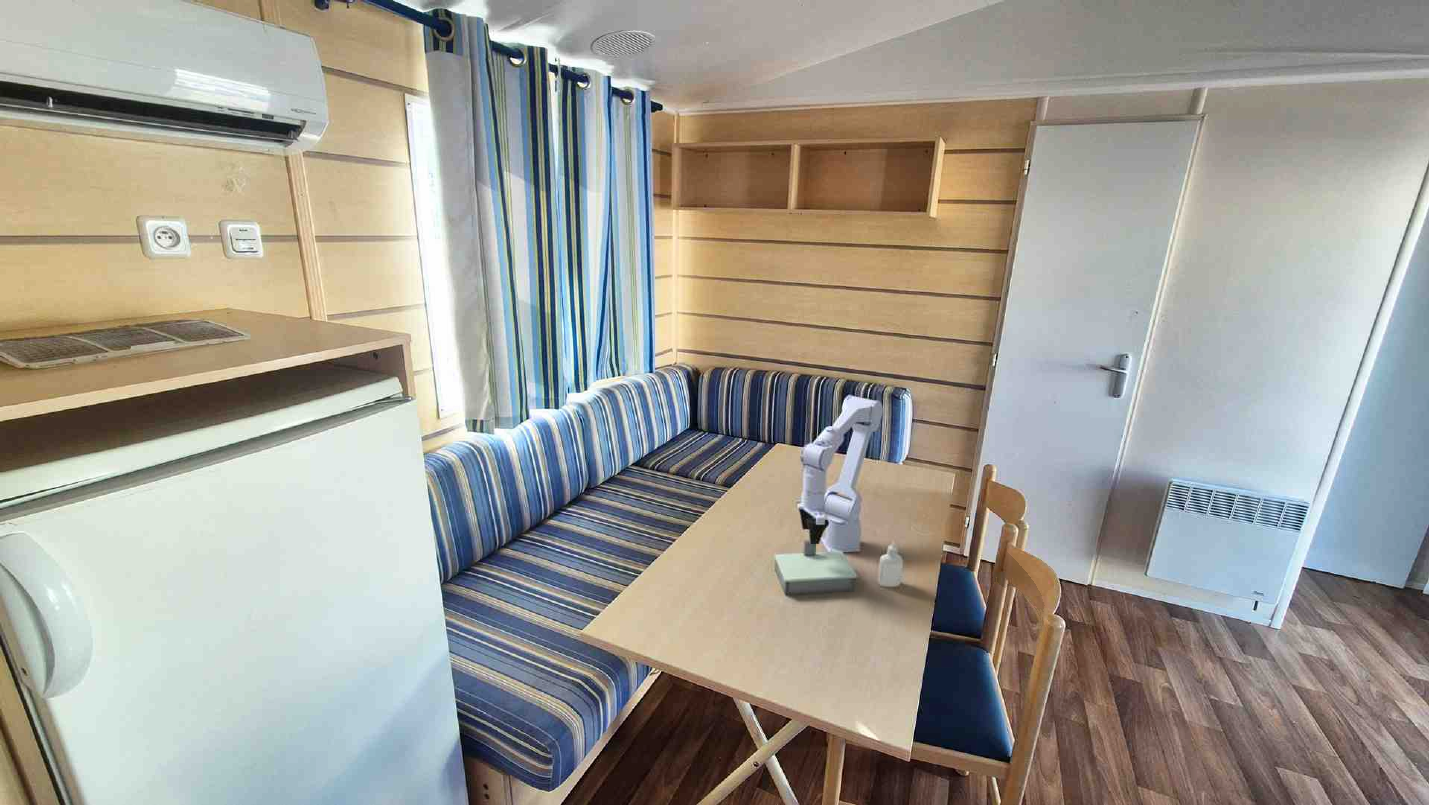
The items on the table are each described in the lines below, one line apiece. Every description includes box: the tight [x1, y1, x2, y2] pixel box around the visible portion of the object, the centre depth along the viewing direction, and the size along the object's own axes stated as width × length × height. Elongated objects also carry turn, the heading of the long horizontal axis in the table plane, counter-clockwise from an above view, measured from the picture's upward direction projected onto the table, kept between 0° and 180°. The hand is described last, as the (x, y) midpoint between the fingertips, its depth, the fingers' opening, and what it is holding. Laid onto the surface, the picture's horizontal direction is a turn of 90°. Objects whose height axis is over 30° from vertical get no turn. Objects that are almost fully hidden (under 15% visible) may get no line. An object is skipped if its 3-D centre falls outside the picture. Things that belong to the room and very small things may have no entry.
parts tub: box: [774, 561, 856, 596], centre depth 149 cm, size 18×11×4 cm, turn 97°
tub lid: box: [774, 539, 858, 582], centre depth 148 cm, size 19×12×5 cm, turn 97°
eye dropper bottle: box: [877, 541, 904, 588], centre depth 147 cm, size 4×6×12 cm
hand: (810, 536), depth 152 cm, fingers open, 7 cm apart
